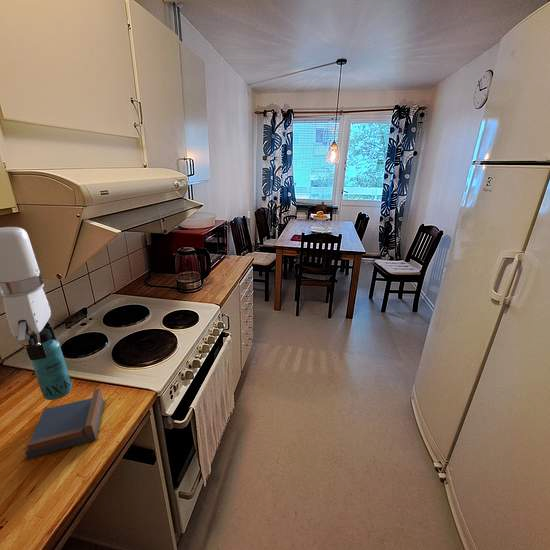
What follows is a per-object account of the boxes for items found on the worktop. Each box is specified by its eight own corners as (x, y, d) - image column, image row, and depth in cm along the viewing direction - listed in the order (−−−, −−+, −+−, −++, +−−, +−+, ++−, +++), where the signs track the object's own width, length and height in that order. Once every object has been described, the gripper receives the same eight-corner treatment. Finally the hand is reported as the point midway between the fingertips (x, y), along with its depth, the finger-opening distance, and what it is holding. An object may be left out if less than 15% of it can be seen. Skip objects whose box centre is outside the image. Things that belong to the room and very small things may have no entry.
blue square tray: (28, 458, 72) (21, 443, 70) (46, 415, 84) (40, 401, 82) (96, 439, 77) (91, 425, 75) (103, 401, 89) (100, 388, 87)
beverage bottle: (38, 402, 74) (13, 337, 66) (61, 384, 80) (41, 323, 72) (59, 407, 72) (35, 342, 65) (81, 388, 78) (62, 326, 71)
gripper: (16, 271, 70) (38, 333, 76) (-22, 303, 55) (10, 376, 62) (53, 268, 72) (71, 328, 79) (26, 297, 57) (51, 368, 64)
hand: (44, 348), depth 70 cm, fingers closed on beverage bottle, 6 cm apart
